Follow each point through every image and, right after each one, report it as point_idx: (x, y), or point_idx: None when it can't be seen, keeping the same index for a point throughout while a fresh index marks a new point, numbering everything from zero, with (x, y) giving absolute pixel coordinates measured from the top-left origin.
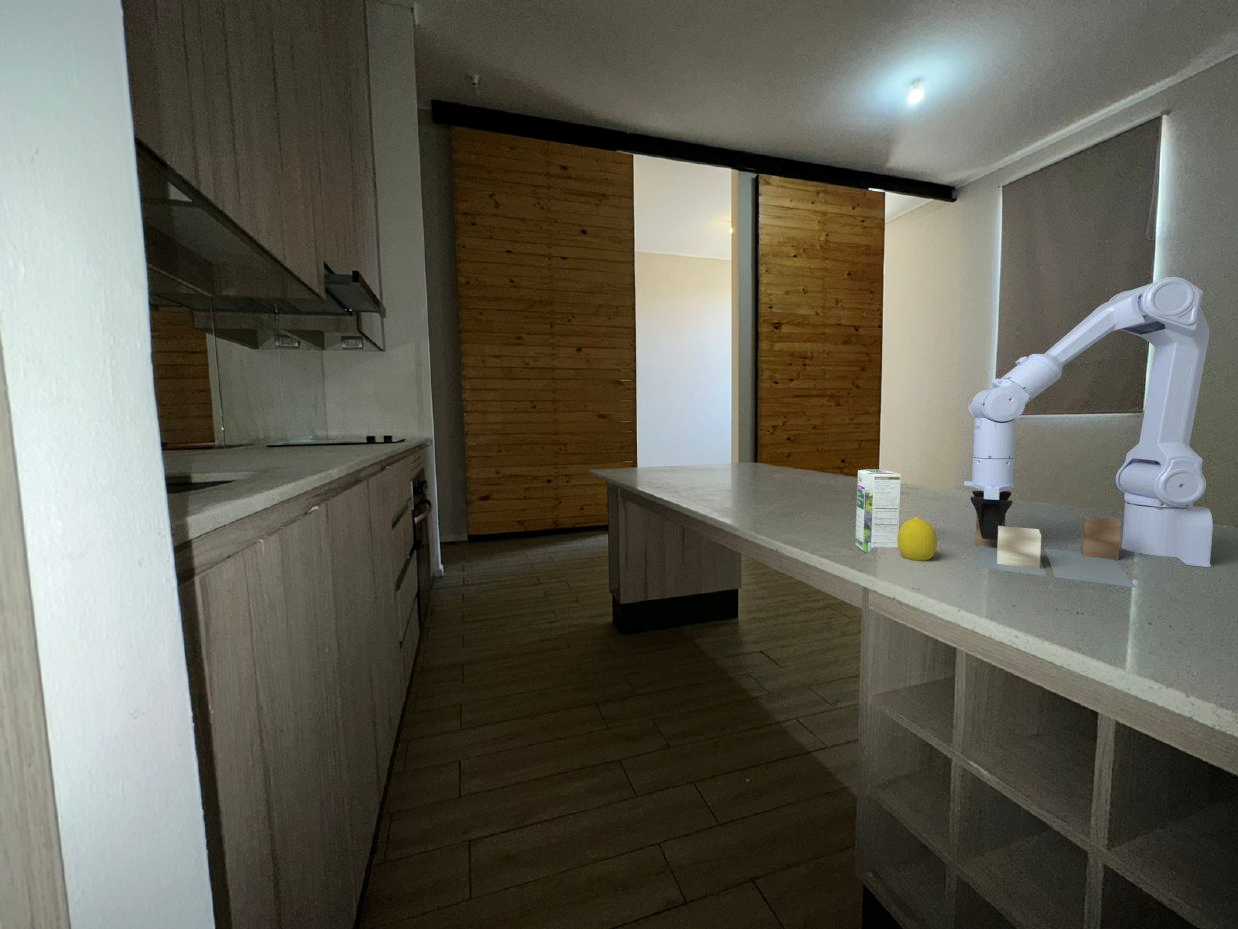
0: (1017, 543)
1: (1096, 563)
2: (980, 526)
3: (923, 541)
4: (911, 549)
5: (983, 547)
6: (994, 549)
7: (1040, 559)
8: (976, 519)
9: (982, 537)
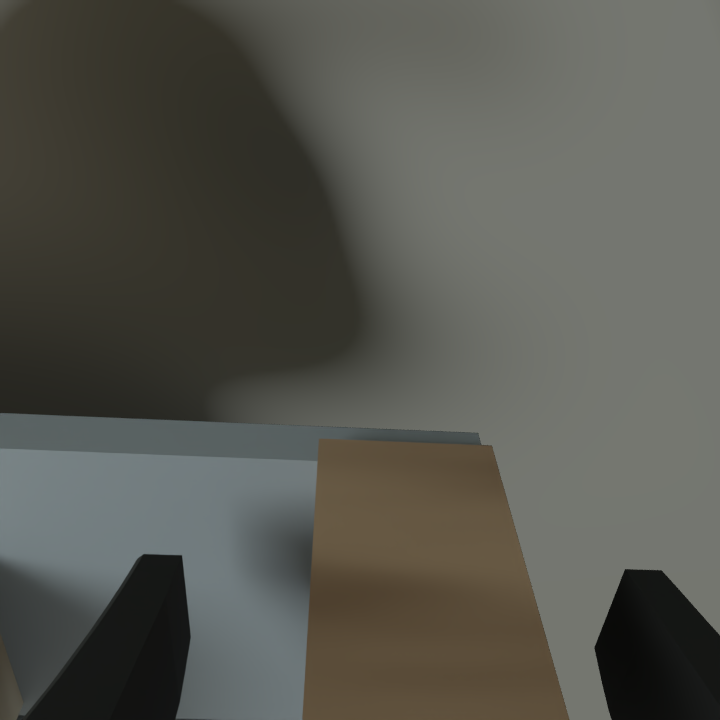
0: None
1: None
2: (70, 667)
3: None
4: None
5: (240, 488)
6: (210, 546)
7: None
8: (307, 688)
9: (136, 566)
